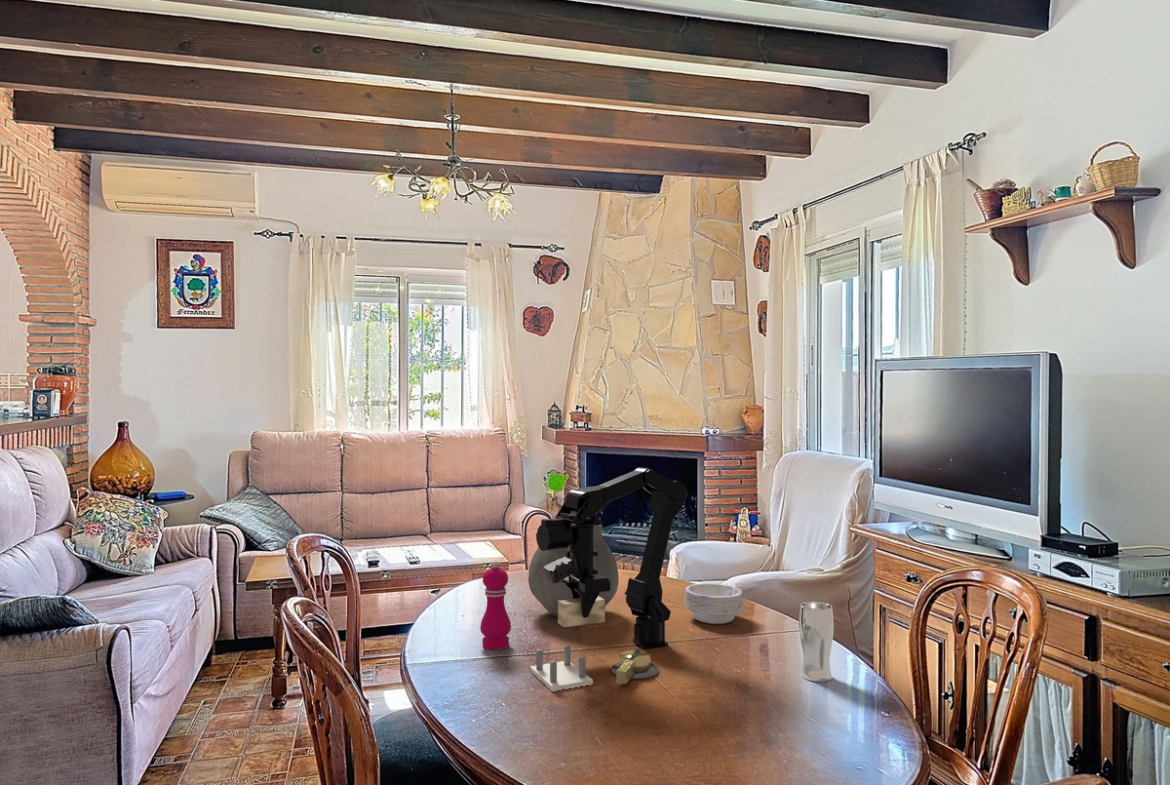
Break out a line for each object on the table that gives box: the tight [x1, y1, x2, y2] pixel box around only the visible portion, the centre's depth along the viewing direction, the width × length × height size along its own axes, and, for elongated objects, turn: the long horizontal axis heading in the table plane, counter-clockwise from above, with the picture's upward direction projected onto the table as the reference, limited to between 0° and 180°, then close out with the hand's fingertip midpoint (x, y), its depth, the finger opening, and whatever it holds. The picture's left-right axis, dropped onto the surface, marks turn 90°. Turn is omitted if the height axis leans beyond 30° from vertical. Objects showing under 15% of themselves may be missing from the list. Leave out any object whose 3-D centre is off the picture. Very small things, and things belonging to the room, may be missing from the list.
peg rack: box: [529, 644, 594, 692], centre depth 167 cm, size 13×9×5 cm
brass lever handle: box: [615, 648, 651, 685], centre depth 167 cm, size 14×7×3 cm, turn 161°
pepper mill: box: [479, 560, 512, 651], centre depth 188 cm, size 7×7×20 cm
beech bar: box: [557, 596, 606, 628], centre depth 178 cm, size 10×4×5 cm, turn 114°
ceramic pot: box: [527, 524, 620, 618], centre depth 214 cm, size 24×24×25 cm
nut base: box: [611, 662, 659, 680], centre depth 170 cm, size 10×10×1 cm
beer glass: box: [798, 601, 835, 683], centre depth 166 cm, size 7×7×15 cm
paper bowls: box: [684, 582, 744, 625], centre depth 209 cm, size 15×15×8 cm
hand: (581, 615), depth 178 cm, fingers closed on beech bar, 3 cm apart
